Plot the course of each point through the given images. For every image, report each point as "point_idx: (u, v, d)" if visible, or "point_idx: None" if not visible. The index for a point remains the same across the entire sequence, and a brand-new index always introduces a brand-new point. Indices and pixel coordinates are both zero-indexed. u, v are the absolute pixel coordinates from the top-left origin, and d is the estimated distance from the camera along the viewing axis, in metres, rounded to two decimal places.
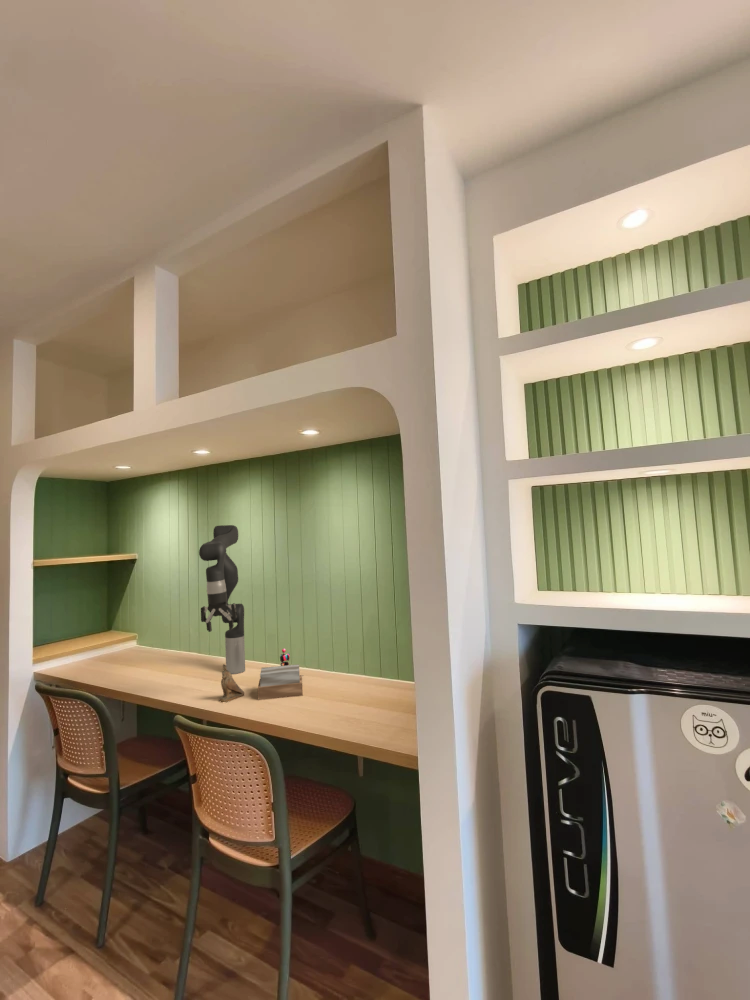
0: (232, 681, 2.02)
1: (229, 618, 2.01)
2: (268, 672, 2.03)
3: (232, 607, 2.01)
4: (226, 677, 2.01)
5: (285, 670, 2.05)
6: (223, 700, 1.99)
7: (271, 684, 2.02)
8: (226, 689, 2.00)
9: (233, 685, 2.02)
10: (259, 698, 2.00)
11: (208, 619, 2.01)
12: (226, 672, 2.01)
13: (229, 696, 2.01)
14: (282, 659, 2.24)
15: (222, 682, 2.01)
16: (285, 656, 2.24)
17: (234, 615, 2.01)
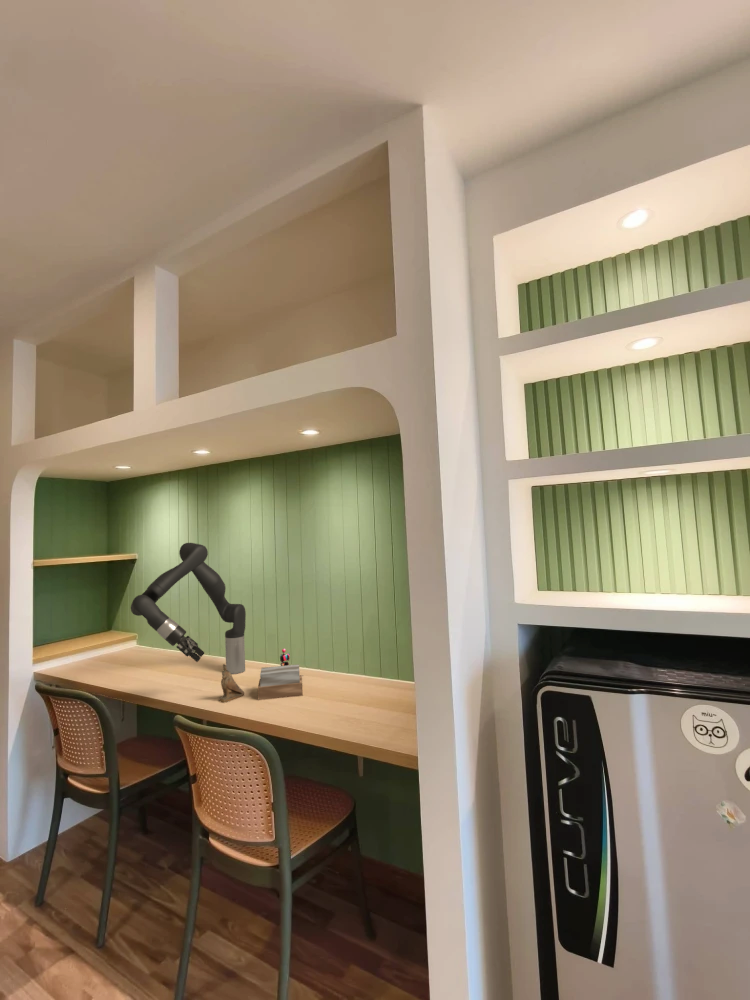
0: (232, 681, 2.02)
1: None
2: (268, 672, 2.03)
3: None
4: (226, 677, 2.01)
5: (285, 670, 2.05)
6: (223, 700, 1.99)
7: (271, 684, 2.02)
8: (226, 689, 2.00)
9: (233, 685, 2.02)
10: (259, 698, 2.00)
11: None
12: (226, 672, 2.01)
13: (229, 696, 2.01)
14: (282, 659, 2.24)
15: (222, 682, 2.01)
16: (285, 656, 2.24)
17: None
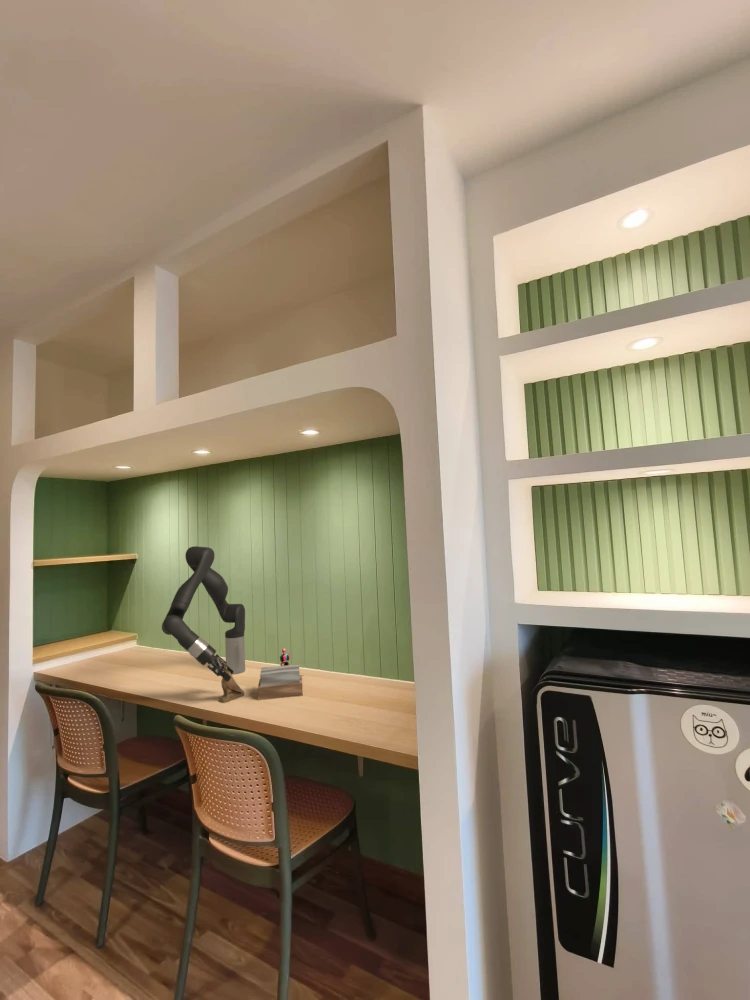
0: (233, 681, 2.02)
1: None
2: (268, 672, 2.03)
3: None
4: None
5: (285, 670, 2.05)
6: (223, 700, 1.99)
7: (271, 684, 2.02)
8: (226, 689, 2.00)
9: (233, 685, 2.02)
10: (259, 698, 2.00)
11: None
12: (226, 672, 2.00)
13: (229, 696, 2.01)
14: (282, 659, 2.24)
15: (222, 682, 2.01)
16: (285, 656, 2.24)
17: None
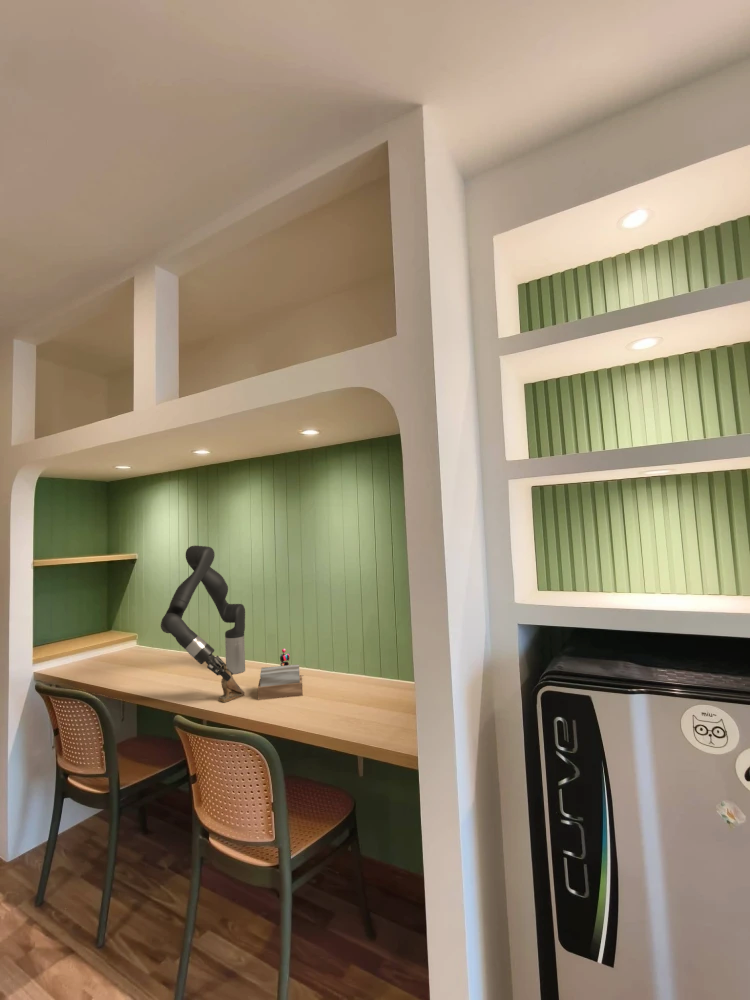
0: (233, 681, 2.02)
1: None
2: (268, 672, 2.03)
3: None
4: None
5: (285, 670, 2.05)
6: (223, 699, 1.99)
7: (271, 684, 2.02)
8: (226, 689, 2.00)
9: (233, 685, 2.02)
10: (259, 698, 2.00)
11: None
12: None
13: (229, 696, 2.01)
14: (282, 659, 2.24)
15: (222, 681, 2.01)
16: (285, 656, 2.24)
17: None
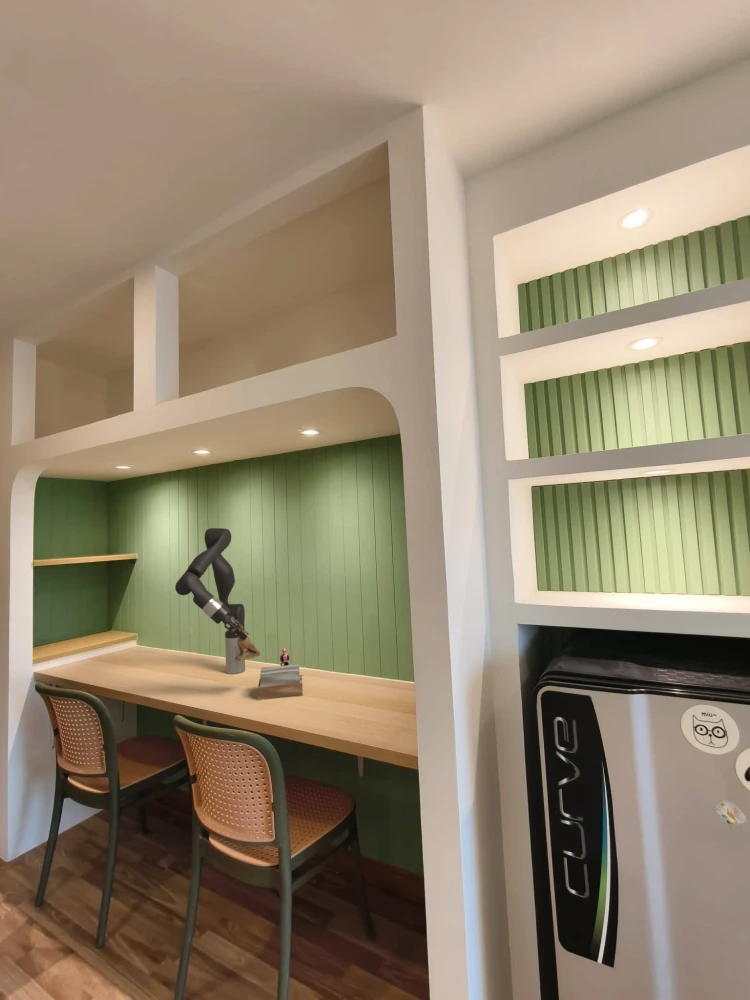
0: (249, 641, 2.06)
1: None
2: (268, 672, 2.03)
3: None
4: None
5: (285, 670, 2.05)
6: (239, 658, 2.03)
7: (271, 684, 2.02)
8: (242, 648, 2.04)
9: (249, 644, 2.06)
10: (259, 698, 2.00)
11: None
12: (243, 631, 2.04)
13: (245, 655, 2.05)
14: (282, 659, 2.24)
15: (238, 641, 2.05)
16: (285, 656, 2.24)
17: None
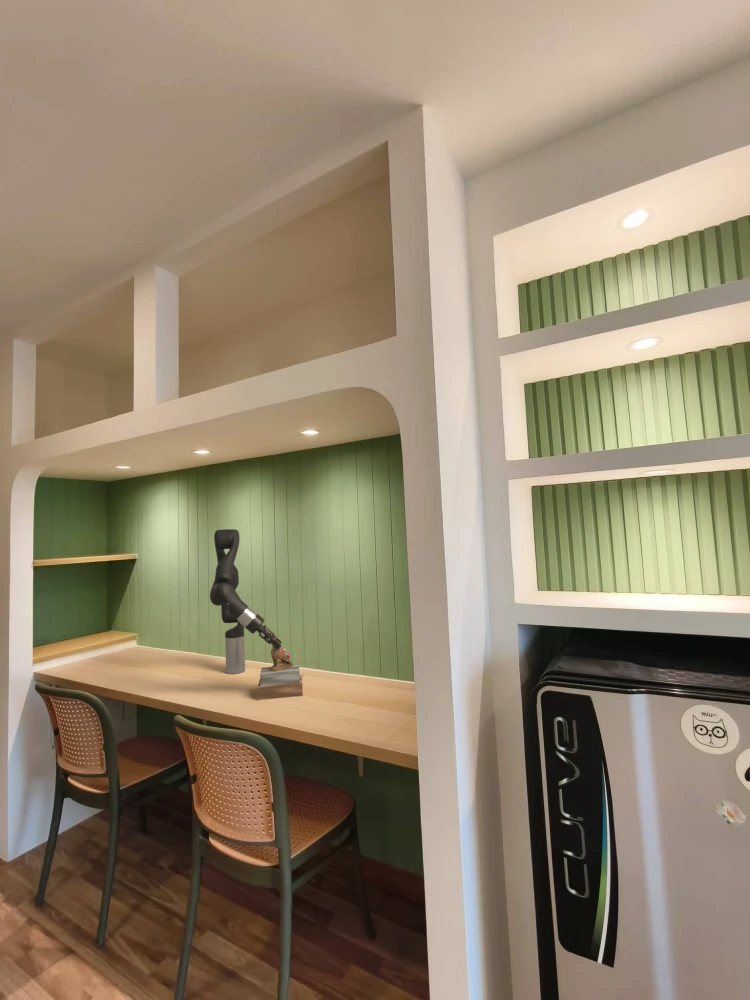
0: (282, 651, 2.08)
1: None
2: (268, 672, 2.03)
3: (261, 636, 2.01)
4: None
5: (285, 670, 2.05)
6: (274, 669, 2.04)
7: (271, 684, 2.02)
8: (276, 659, 2.06)
9: (283, 655, 2.08)
10: (259, 698, 2.00)
11: (269, 638, 2.11)
12: None
13: (279, 665, 2.07)
14: None
15: (272, 652, 2.07)
16: None
17: (267, 642, 2.02)
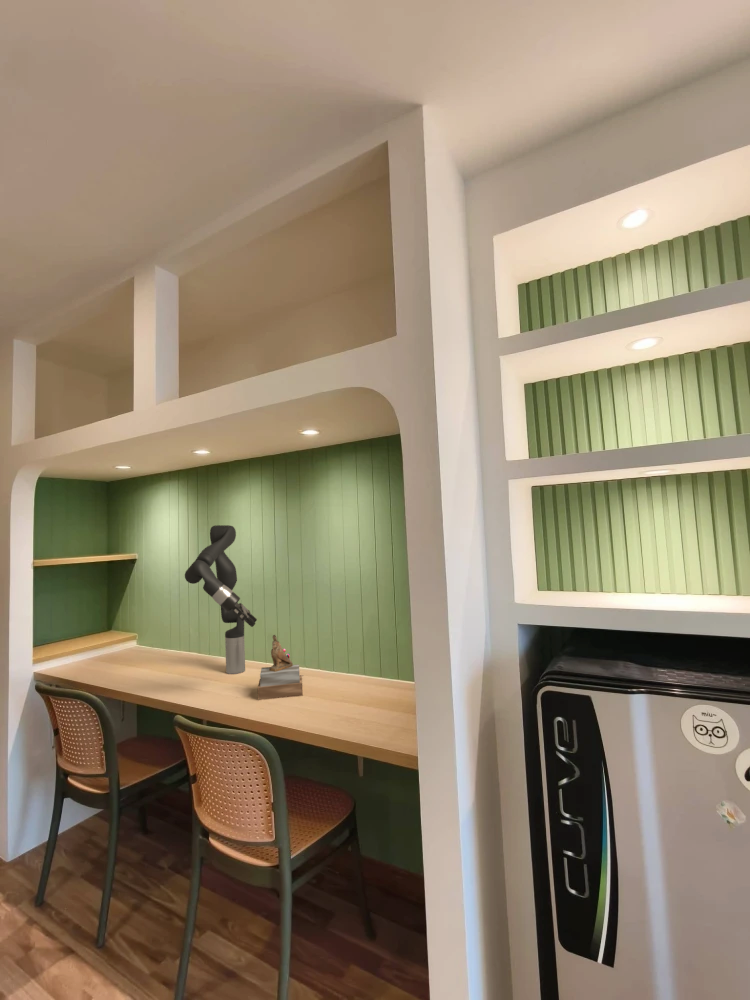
0: (282, 651, 2.08)
1: None
2: (268, 672, 2.03)
3: (234, 613, 2.00)
4: (276, 647, 2.06)
5: (285, 670, 2.05)
6: (274, 669, 2.04)
7: (271, 684, 2.02)
8: (276, 659, 2.06)
9: (283, 655, 2.08)
10: (259, 698, 2.00)
11: None
12: (276, 642, 2.06)
13: (279, 665, 2.07)
14: None
15: (272, 652, 2.07)
16: None
17: (241, 619, 2.00)
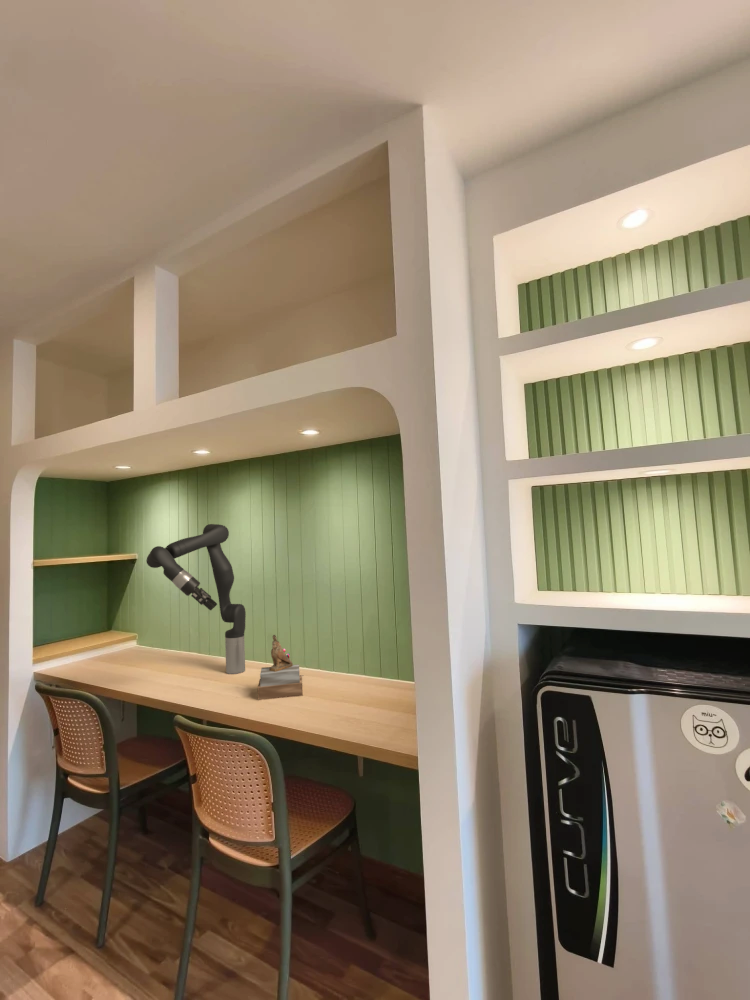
0: (282, 651, 2.08)
1: None
2: (268, 672, 2.03)
3: None
4: (276, 647, 2.06)
5: (285, 670, 2.05)
6: (274, 669, 2.04)
7: (271, 684, 2.02)
8: (276, 659, 2.06)
9: (283, 655, 2.08)
10: (259, 698, 2.00)
11: None
12: (276, 642, 2.06)
13: (279, 665, 2.07)
14: None
15: (272, 652, 2.07)
16: None
17: None
